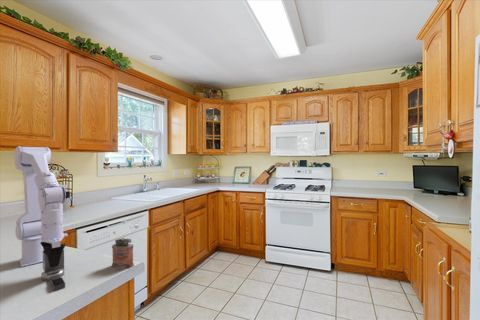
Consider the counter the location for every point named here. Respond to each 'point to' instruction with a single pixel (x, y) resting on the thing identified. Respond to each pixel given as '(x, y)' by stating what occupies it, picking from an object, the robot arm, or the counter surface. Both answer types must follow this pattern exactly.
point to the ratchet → (54, 279)
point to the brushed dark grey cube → (47, 267)
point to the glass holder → (67, 203)
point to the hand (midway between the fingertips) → (53, 264)
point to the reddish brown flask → (122, 253)
